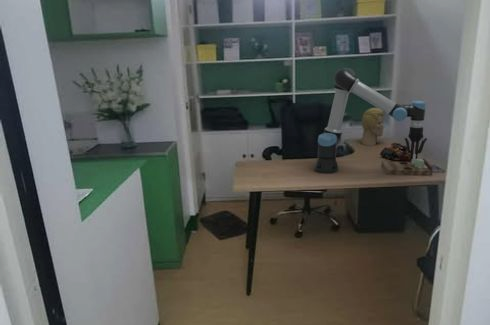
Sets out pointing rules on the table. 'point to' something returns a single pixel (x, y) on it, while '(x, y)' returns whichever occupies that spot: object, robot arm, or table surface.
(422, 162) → the block
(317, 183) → the table surface
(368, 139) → the bust
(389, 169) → the board
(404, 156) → the character figurine
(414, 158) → the robot arm
